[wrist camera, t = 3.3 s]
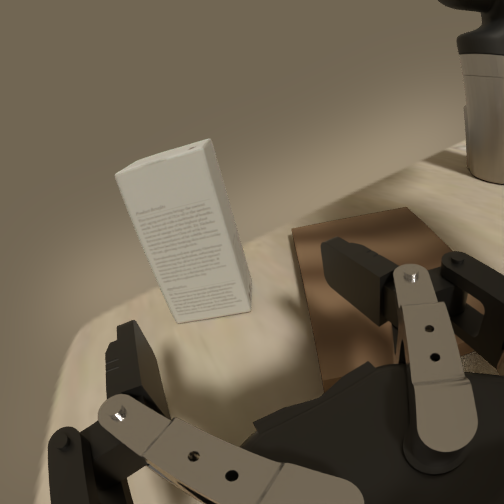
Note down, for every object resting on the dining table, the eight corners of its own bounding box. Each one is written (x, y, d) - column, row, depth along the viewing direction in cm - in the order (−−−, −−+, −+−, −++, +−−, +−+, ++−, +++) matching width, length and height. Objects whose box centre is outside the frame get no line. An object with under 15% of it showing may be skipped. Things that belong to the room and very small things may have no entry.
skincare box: (253, 280, 26) (213, 136, 21) (252, 313, 22) (204, 146, 17) (184, 293, 27) (135, 159, 21) (174, 325, 23) (111, 174, 18)
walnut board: (293, 239, 31) (291, 228, 30) (406, 217, 29) (406, 206, 29) (324, 393, 15) (323, 380, 15) (509, 336, 14) (514, 321, 13)
